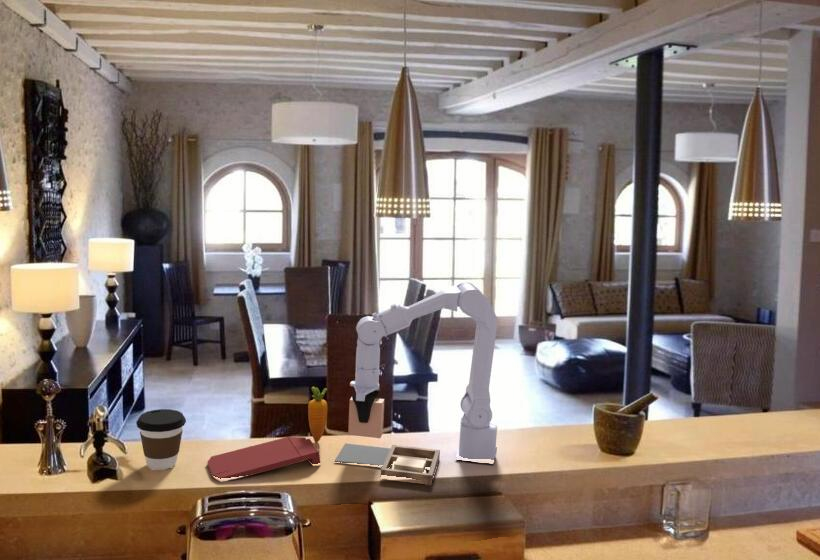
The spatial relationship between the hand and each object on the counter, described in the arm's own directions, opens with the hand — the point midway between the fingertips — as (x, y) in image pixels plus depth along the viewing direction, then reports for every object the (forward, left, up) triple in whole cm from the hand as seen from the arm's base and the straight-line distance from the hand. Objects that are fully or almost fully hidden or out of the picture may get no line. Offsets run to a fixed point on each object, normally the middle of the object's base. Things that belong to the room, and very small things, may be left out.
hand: (365, 419), depth 192 cm
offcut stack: (-12, +7, -10) cm, 18 cm away
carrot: (+13, -6, -10) cm, 18 cm away
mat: (0, 0, -10) cm, 10 cm away
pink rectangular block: (0, 0, -4) cm, 4 cm away
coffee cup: (+44, +17, -10) cm, 49 cm away
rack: (-13, +3, -10) cm, 16 cm away
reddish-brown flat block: (+22, +11, -10) cm, 27 cm away
